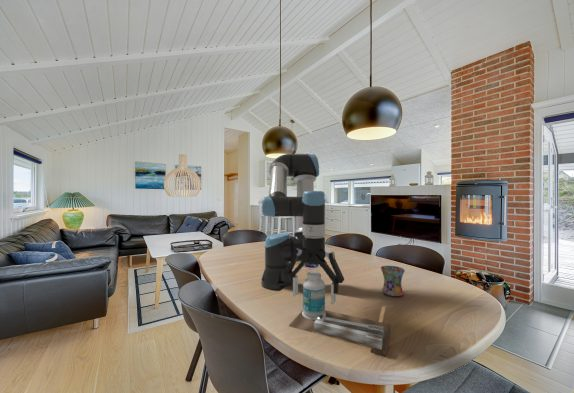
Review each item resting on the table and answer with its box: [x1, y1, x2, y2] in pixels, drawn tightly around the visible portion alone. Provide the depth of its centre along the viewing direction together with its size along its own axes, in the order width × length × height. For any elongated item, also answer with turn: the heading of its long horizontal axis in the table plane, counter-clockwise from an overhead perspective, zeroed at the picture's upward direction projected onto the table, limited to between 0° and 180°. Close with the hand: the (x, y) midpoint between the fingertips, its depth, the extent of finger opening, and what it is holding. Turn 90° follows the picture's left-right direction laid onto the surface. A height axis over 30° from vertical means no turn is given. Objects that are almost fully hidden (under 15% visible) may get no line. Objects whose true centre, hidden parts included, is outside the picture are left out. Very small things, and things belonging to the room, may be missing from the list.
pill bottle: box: [302, 271, 326, 318], centre depth 82 cm, size 8×7×14 cm
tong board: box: [288, 309, 391, 357], centre depth 75 cm, size 28×15×4 cm, turn 63°
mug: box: [380, 265, 405, 297], centre depth 104 cm, size 12×9×11 cm
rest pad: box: [301, 310, 326, 320], centre depth 82 cm, size 8×8×1 cm
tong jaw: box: [317, 315, 383, 336], centre depth 72 cm, size 19×3×3 cm, turn 68°
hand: (313, 298), depth 82 cm, fingers open, 13 cm apart
